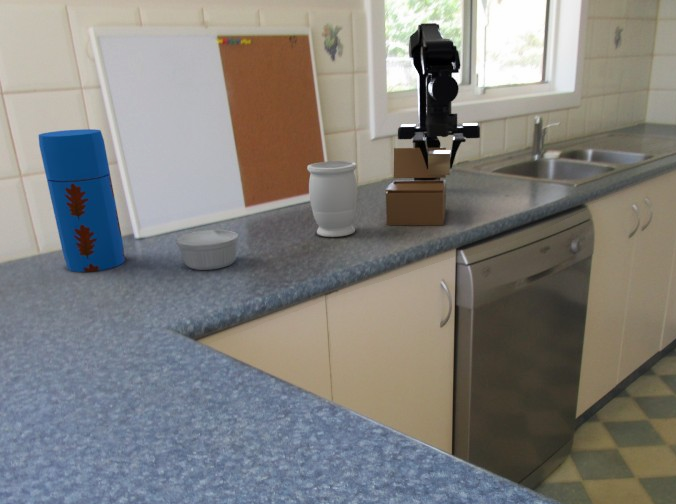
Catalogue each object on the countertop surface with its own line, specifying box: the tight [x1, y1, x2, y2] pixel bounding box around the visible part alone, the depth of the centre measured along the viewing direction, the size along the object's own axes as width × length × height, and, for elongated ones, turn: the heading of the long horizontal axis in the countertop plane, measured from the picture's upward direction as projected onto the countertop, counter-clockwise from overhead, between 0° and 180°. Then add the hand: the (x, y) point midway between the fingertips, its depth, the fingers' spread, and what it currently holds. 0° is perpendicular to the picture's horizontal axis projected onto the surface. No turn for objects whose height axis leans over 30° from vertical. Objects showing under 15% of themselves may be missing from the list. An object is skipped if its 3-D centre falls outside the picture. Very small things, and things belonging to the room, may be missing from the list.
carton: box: [385, 179, 447, 226], centre depth 156 cm, size 15×13×8 cm
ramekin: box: [176, 229, 239, 271], centre depth 127 cm, size 11×11×5 cm
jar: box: [307, 160, 359, 238], centre depth 144 cm, size 11×10×15 cm
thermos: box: [38, 128, 126, 273], centre depth 125 cm, size 11×11×25 cm
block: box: [428, 149, 451, 176], centre depth 156 cm, size 5×5×5 cm
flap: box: [393, 147, 447, 179], centre depth 161 cm, size 7×13×1 cm
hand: (439, 168), depth 156 cm, fingers closed on block, 5 cm apart
